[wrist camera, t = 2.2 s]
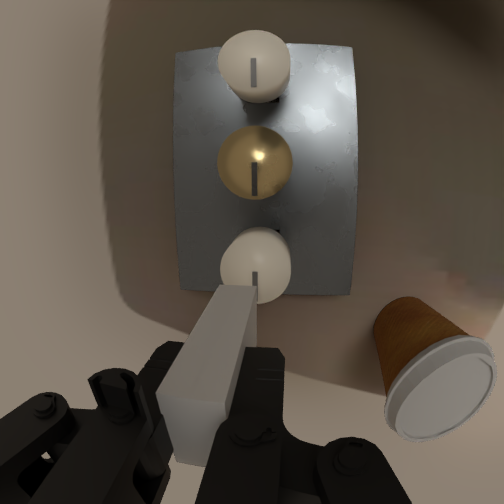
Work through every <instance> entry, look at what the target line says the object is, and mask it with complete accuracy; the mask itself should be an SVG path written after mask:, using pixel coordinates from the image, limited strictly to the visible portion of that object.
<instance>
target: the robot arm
mask: <svg viewBox="0 0 504 504" xmlns="http://www.w3.org/2000/svg"><path fill="white" fill-rule="evenodd" d="M256 346H257V286H243V285H219V286H218V288H217V289H216V291H215V293H214V295H213V296H212V298H211V300H210V301H209V303H208V305H207V306H206V308H205V310H204V311H203V313H202V315H201V316H200V318H199V320H198V321H197V323H196V325H195V326H194V328H193V330H192V332H191V333H190V335H189V337H188V338H187V340H186V342H185V343H183V342H173V341H168V342H166V343H164V344H163V345H161V346H160V347H158V348H157V349H156V350H155V352H154V353H153V354H152V356H151V357H150V360H148V361H147V363H146V364H145V366H144V368H142V370H141V371H140V372H139V374H138V375H136V374H135V373H134V372H132V371H129V370H127V369H121V368H112V369H105V370H102V371H100V372H98V373H95V374H94V375H92V376H91V377H90V378H89V379H88V382H89V384H90V387H91V389H92V392H93V395H94V397H95V400H96V402H97V404H98V407H97V408H96V409H93V410H91V409H74V408H70V407H69V405H68V403H67V401H66V400H65V398H64V397H63V396H62V395H60V394H57V393H53V392H45V393H40V394H38V395H36V396H34V397H32V398H30V399H29V400H28V401H26V402H24V403H23V404H22V405H20V406H19V407H17V408H16V409H14V410H13V411H12V412H10V413H8V414H7V415H6V416H4V417H3V418H1V419H0V504H160V503H161V500H162V497H163V495H164V492H165V490H166V487H167V484H168V482H169V479H170V473H171V470H170V468H169V465H168V463H169V460H170V458H171V455H172V453H174V456H175V458H176V461H177V462H180V463H185V464H190V465H195V466H201V467H206V468H205V471H204V474H203V478H202V481H201V484H200V488H199V491H198V494H197V498H196V501H195V504H412V502H411V501H410V499H409V498H408V496H407V494H406V492H405V490H404V489H403V487H402V485H401V484H400V482H399V480H398V478H397V477H396V475H395V473H394V472H393V470H392V468H391V467H390V465H389V463H388V462H387V460H386V458H385V456H384V455H383V453H382V452H381V450H380V449H379V448H378V447H377V446H376V445H375V444H373V443H371V442H369V441H367V440H365V439H362V438H356V437H346V438H339V439H336V440H334V441H331V442H329V443H328V444H327V445H326V446H319V445H315V444H310V443H307V442H304V441H301V440H299V439H297V438H296V437H294V436H293V435H291V434H290V433H289V432H288V431H287V429H286V428H285V426H284V424H283V394H284V393H283V392H284V368H285V358H284V356H283V355H282V353H281V352H280V350H279V349H278V348H261V347H256ZM45 452H47V453H48V454H49V455H50V457H51V458H49V459H44V458H42V456H41V455H43V454H44V453H45Z"/></svg>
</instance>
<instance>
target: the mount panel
mask: <svg viewBox="0 0 504 504" xmlns="http://www.w3.org/2000/svg"><path fill="white" fill-rule="evenodd" d="M286 46H287V48H288V50H289V53H290V81H289V84H288V86H287V88H286V90H285V91H284V92H283V93H282V94H281V95H280V96H279V103H251V102H247V101H245V100H243V99H241V98H239V97H238V96H237V95H236V94H235V93H234V92H233V91H232V90H231V88H230V87H229V85H228V84H227V82H226V81H225V80H224V78H223V77H222V75H221V74H220V71H219V69H218V55H219V52H220V50H221V48H222V47H213V48H205V49H198V50H191V51H185V52H179V53H176V57H175V75H174V104H173V171H174V201H175V222H176V238H177V252H178V265H179V277H180V287H181V290H197V291H216V289H217V288H218V286H219V285H224V283H223V281H222V278H221V273H220V265H221V260H222V257H223V255H224V253H225V252H226V250H227V249H228V247H229V246H230V245H231V244H232V242H233V241H234V240H235V238H236V237H237V236H238V235H239V234H240V233H241V232H243V231H245V230H247V229H249V228H252V227H267V228H270V229H273V230H280V235H281V236H282V237H283V238H284V239H285V240H286V242H287V244H288V246H289V249H290V257H291V277H290V281H289V283H288V286H287V287H286V289H285V290H284V292H283V293H282V294H296V295H350V288H351V279H352V269H353V258H354V246H355V232H356V214H357V188H358V129H357V104H356V87H355V74H354V63H353V53H352V47H343V46H332V45H318V44H286ZM247 126H264V127H267V128H270V129H272V130H274V131H276V132H277V133H278V134H280V135H281V136H282V137H283V138H284V139H285V141H286V142H287V144H288V146H289V148H290V150H291V153H292V159H293V166H292V172H291V175H290V177H289V179H288V181H287V183H286V184H285V186H284V187H283V188H282V189H281V190H280V191H278V192H277V193H276V194H274V195H272V196H270V197H267V198H264V199H258V200H252V199H246V198H242V197H240V196H238V195H236V194H234V193H233V192H231V191H230V190H229V189H228V188H227V187H226V186H225V184H224V183H223V182H222V180H221V178H220V175H219V172H218V167H217V158H218V153H219V150H220V148H221V146H222V144H223V142H224V141H225V140H226V138H227V137H228V136H229V135H230V134H232V133H233V132H235V131H236V130H238V129H240V128H243V127H247Z"/></svg>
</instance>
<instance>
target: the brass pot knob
mask: <svg viewBox="0 0 504 504" xmlns="http://www.w3.org/2000/svg"><path fill="white" fill-rule="evenodd" d="M292 166H293V159H292V153H291V150H290V148H289V146H288V144H287V142H286V141H285V139H284V138H283V137H282V136H281V135H280V134H278V133H277V132H276V131H274V130H272V129H270V128H267V127H264V126H247V127H243V128H240V129H238V130H236V131H235V132H233V133H232V134H230V135H229V136H228V137H227V138H226V140H225V141H224V142H223V144H222V146H221V148H220V150H219V153H218V158H217V167H218V172H219V175H220V178H221V180H222V182H223V183H224V184H225V186H226V187H227V188H228V189H229V190H230V191H231V192H233V193H234V194H236V195H238V196H240V197H242V198H246V199H252V200H258V199H264V198H267V197H270V196H272V195H274V194H276V193H277V192H278V191H280V190H281V189H282V188H283V187H284V186H285V184H286V183H287V181H288V179H289V177H290V175H291V172H292Z"/></svg>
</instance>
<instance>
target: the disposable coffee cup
mask: <svg viewBox="0 0 504 504" xmlns="http://www.w3.org/2000/svg"><path fill="white" fill-rule="evenodd" d="M374 337H375V341H376V346H377V351H378V355H379V360H380V365H381V370H382V375H383V380H384V386H385V392H386V397H387V398H386V403H385V410H384V414H385V419H386V422H387V424H388V425H389V427H390V428H391V429H392V430H394V431H396V432H397V434H398V435H399V436H401V437H402V438H403V439H405V440H407V441H412V442H424V441H429V440H434V439H437V438H440V437H442V436H445V435H447V434H449V433H451V432H453V431H454V430H456V429H458V428H459V427H461V426H462V425H463V424H464V423H466V422H467V421H468V420H470V419H471V418H472V417H473V416H474V415H475V414H476V413H477V412H478V411H479V410H480V408H481V407H482V406H483V405H484V404H485V402H486V400H487V399H488V397H489V396H490V394H491V392H492V390H493V387H494V385H495V382H496V378H497V367H496V364H495V362H494V354H493V351H492V348H491V347H490V345H489V344H488V343H487V342H486V341H484V340H483V339H482V338H478V337H474V336H470V335H468V334H467V333H466V332H464V331H463V330H462V329H460V328H459V327H457V326H456V325H455V324H453V323H452V322H451V321H449V320H448V319H446V318H445V317H444V316H442V315H441V314H440V313H438V312H437V311H435V310H434V309H432V308H431V307H429V306H428V305H427V304H425V303H424V302H423V301H421V300H420V299H418V298H414V297H403V298H399V299H396V300H394V301H392V302H391V303H389V304H388V305H387V306H386V307H385V308H384V309H383V310H382V311H381V312H380V314H379V315H378V317H377V319H376V321H375V325H374Z"/></svg>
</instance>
